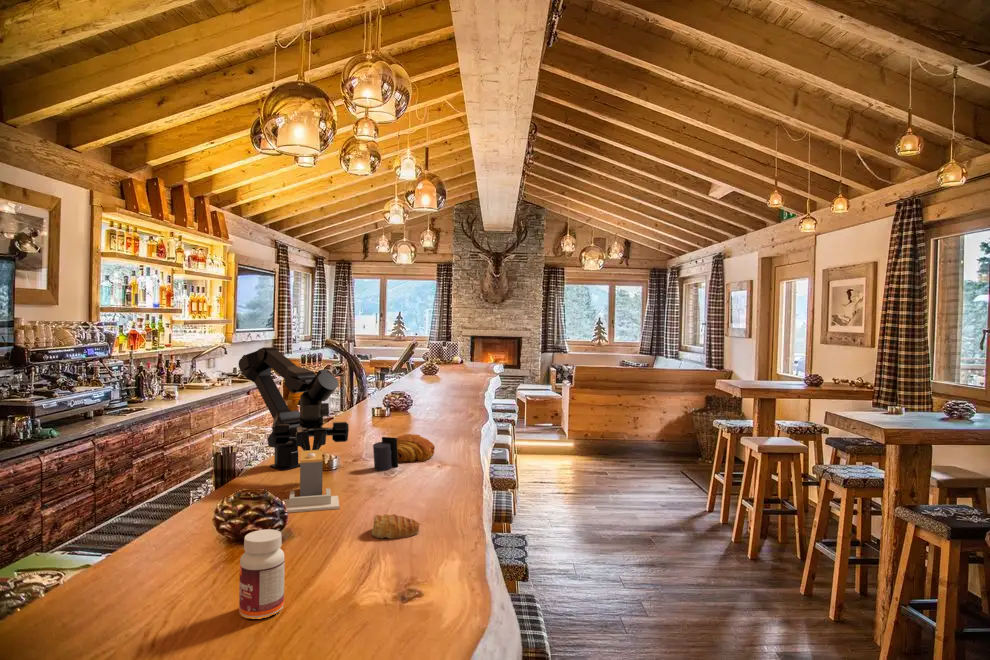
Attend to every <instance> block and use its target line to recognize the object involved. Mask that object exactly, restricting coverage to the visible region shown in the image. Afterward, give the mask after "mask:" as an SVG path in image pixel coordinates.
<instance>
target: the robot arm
mask: <svg viewBox="0 0 990 660" xmlns="http://www.w3.org/2000/svg"><path fill="white" fill-rule="evenodd" d="M238 368H239V370H240V372H241V373H242V375H243V376H244V377H245V378H246V379H247V380H249V381H251V382H253V383H254V385H255V386H256V388H257V391H258V392H259V394H260V396H261V399H263V402H264V403H265V405H266V407H267V409H268V411H269V413H270V415H271V417H272V419H273V421H272V426H271V430H272V432H271V433H270V434H269V436H268V437H267V446H268V447H271V448H274V462H273V463H272V464H269V468H273V469H278V470H283V471H287V470H290V469H294V468H300V462H299V447H300V448H301V449H302V451H308V450H321V449H320V448H321V447H323V446H325V445H326V442H327V436H331V438H332V441H334V442H335V443H345V442H348V440H349V431H350V429H349V428H350V427H349V426H350V425H349V423H348V422H347V421H333V422H332V427H324V426H323V425H324V417H325V418H327V417H329V415H330V403H329V402H325V401H327V400H328V399H329V398H330V397H331V395H333V393H334V392H335V391H336V390H337V388H338V387H339V381H338V380H339V379H338V378H337V377H336V376H334V375H333V374H332V373H330V372H328V371H327V369H319V370H318V371H317V373H315V372H314V371H312V370H311V369H308V368H306V367H301V366H298V365H296V364H295V363H294V362H292V360H290V359H289V358H288V357H286V356H285V355H284V354H283V353H281V352H280V350H279V348H277V347H275V346H268V347H267V346H265V347H261V348H258V349H257V350H256V351H253V352H249V353H247V354H243V355H242V357H240V359H239V360H238ZM272 370H273V371H274V372H276V373H277V375H279V376H280V377H281V378H283V380H284V382H283V384H284V386H285V387H286V389H288V391H289V392H290V393H291V394H299V393H300V397H299V400H298V402H297V405H298V406H299V410H290V407H289V406H288V404H287V402H286V400H285V399H284V397H283V395H282V394H281V392H280V390H279V388H278V386H277V384H276V382H275V380H274V378H273V376H272V375H271V372H272ZM324 402H325V403H324ZM310 438H313V442H312V449H311V444H310Z"/></svg>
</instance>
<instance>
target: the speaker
mask: <svg viewBox="0 0 990 660" xmlns="http://www.w3.org/2000/svg"><path fill="white" fill-rule="evenodd" d="M372 447H373V448H372V449H373V463H374V465H373V466H374V467H373V468H374V469H375V470H376V471H379V472H383V471H384V472H385V471H388V470H390V469H392V468H398V467H399V462H398V451H397V437H389V436H381V441H379V442H376V443H374V444H373V445H372Z"/></svg>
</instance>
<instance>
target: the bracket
mask: <svg viewBox="0 0 990 660" xmlns="http://www.w3.org/2000/svg"><path fill="white" fill-rule="evenodd" d="M331 492H332V491H331V488H330V487H329V488H327V487H326V488H325V494H322V495H316V496H302V497H300V496H295V495H296V491H295V490H290V491H289V498H285V499H282V500H283V501H284V502H285V504H286V508H287V511H288V513H291V514H292V513H301V512H302V513H304V512H314V511H315V512H316V511H329V510H338V509H340V501H339V495H332V493H331ZM288 513H287V514H288Z"/></svg>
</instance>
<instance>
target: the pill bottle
mask: <svg viewBox="0 0 990 660" xmlns="http://www.w3.org/2000/svg"><path fill="white" fill-rule="evenodd" d="M282 539H283V538H282V532H281V531H280V530H276V529H269V528H268V529H258V530H255V531H254V530H253V531H252V532H249V533H247V534H246V535H245V536H244V539H243V541H244V542H243V550H244V552H243V554H242V555H241V556H240V559H239V582H238V583H239V584H238V585H239V592H238V593H239V595H238V596H239V597H238V599H239V600H238V602H239V603H238V605H239V606H238V608H239V610H238V611H239V614H240V613H241V614H242V615H243V616H246V617H253V618H255V617H256V618H258V617H263V616H268V615H270V614H273V613H276V612H278V611H279V610H281V609H282V610H283V608H284V606H283V605H285V552H284V551H283V549H281V547H282V544H283V542H282ZM282 610H281V611H282Z"/></svg>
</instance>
